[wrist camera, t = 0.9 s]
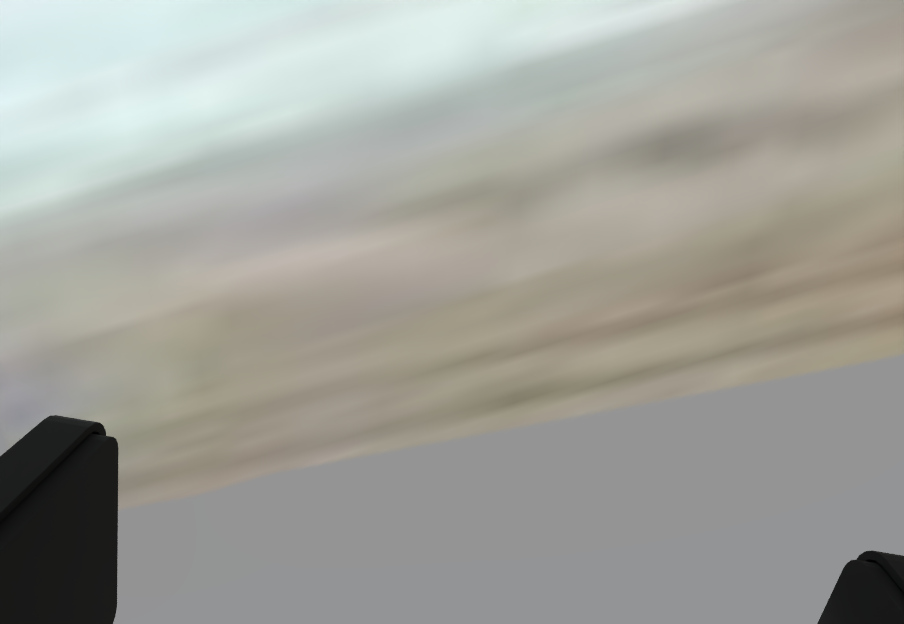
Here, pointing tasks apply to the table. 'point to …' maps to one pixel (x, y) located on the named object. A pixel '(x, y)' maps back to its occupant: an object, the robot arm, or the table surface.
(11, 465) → the robot arm
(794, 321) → the table surface
